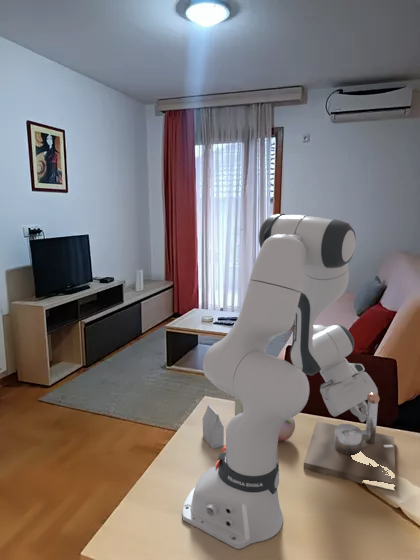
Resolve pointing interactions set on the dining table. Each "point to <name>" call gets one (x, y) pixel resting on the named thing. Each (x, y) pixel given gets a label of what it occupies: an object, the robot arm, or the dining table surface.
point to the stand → (349, 457)
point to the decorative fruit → (286, 429)
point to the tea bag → (213, 428)
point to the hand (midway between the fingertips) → (366, 419)
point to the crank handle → (357, 430)
